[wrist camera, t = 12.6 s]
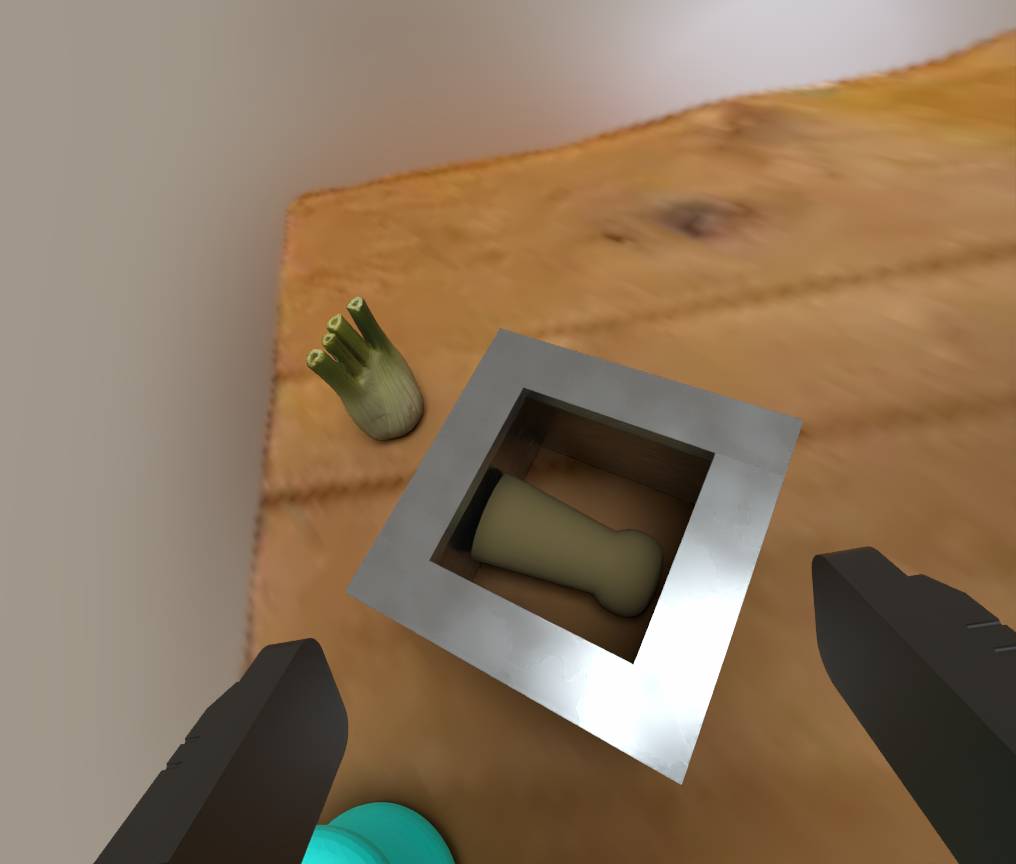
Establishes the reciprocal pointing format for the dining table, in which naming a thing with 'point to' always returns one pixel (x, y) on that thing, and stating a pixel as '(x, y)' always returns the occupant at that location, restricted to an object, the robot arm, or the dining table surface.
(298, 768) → the robot arm
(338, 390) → the fennel bulb
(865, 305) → the dining table surface
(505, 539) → the cork
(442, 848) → the donuts
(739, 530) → the drop box
